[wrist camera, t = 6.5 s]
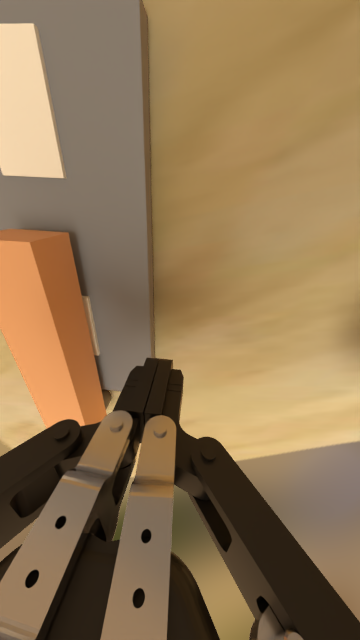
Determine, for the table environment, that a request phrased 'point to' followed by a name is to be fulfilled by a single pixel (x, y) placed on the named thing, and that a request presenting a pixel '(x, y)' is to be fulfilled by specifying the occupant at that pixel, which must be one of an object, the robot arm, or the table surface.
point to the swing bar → (48, 325)
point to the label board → (84, 158)
